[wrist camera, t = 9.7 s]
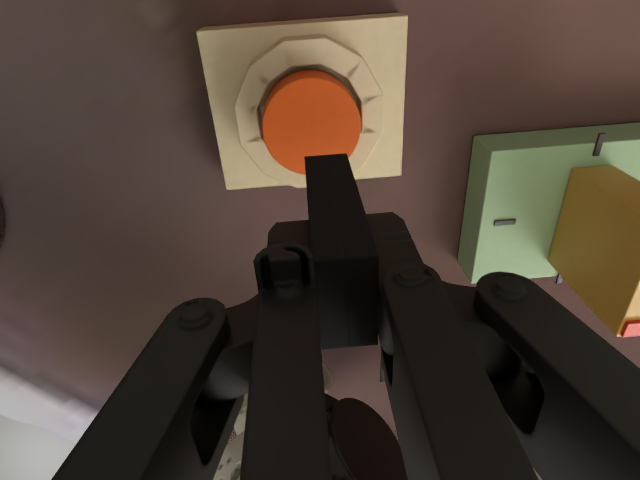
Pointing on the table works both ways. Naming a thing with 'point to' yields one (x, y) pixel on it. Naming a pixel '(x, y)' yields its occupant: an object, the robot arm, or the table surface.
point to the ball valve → (337, 442)
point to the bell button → (309, 119)
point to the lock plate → (531, 192)
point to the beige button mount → (294, 55)
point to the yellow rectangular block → (602, 245)
